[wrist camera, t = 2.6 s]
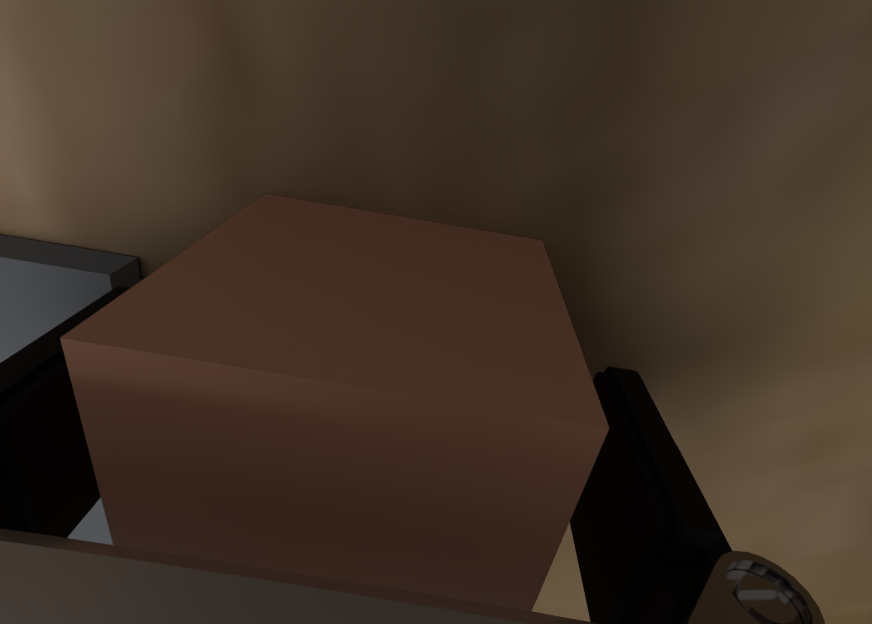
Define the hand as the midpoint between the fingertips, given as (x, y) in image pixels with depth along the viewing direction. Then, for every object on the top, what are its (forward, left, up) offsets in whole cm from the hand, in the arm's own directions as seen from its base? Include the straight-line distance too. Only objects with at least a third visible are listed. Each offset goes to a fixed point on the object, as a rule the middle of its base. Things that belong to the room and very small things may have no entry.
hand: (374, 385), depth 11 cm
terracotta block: (0, 0, -2) cm, 2 cm away
